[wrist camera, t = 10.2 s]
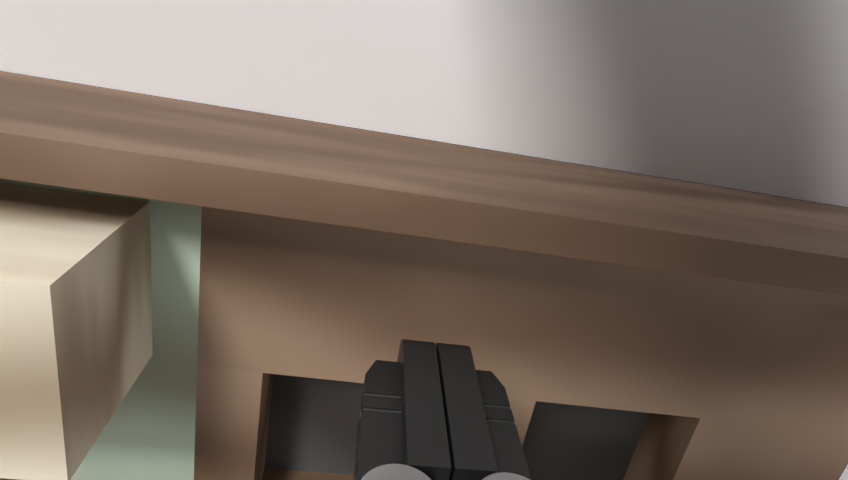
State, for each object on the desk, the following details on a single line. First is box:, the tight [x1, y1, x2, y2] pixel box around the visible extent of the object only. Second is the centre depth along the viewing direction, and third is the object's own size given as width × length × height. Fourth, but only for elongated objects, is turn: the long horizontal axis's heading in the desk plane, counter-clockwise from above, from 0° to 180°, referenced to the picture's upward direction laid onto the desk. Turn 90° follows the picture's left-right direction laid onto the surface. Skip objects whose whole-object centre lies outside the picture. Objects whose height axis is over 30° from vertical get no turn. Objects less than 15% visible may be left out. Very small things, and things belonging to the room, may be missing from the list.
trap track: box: [0, 71, 848, 480], centre depth 18 cm, size 15×31×6 cm, turn 80°
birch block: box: [0, 182, 153, 480], centre depth 14 cm, size 5×5×5 cm
